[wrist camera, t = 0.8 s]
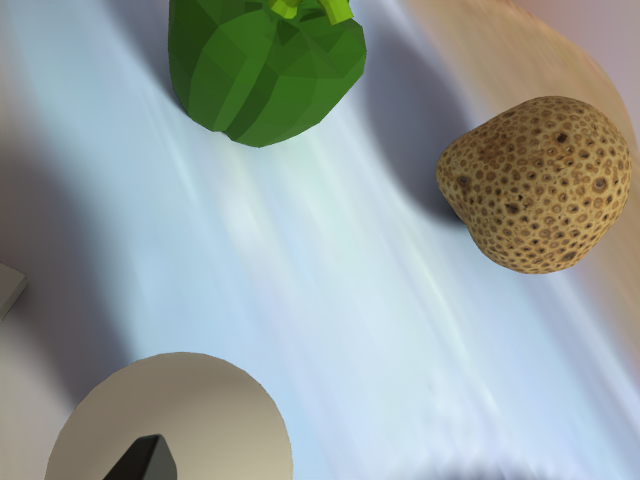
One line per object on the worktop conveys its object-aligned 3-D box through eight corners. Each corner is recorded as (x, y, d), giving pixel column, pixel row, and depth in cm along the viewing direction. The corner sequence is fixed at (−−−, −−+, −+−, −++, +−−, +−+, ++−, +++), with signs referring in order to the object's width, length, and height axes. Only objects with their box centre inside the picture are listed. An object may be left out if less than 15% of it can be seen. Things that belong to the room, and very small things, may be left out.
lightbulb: (18, 438, 18) (-33, 460, 9) (166, 344, 22) (242, 289, 12) (107, 581, 18) (148, 755, 9) (242, 465, 21) (378, 504, 12)
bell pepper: (137, 27, 26) (172, -167, 17) (282, 37, 30) (370, -116, 21) (169, 178, 24) (225, 47, 15) (319, 168, 28) (429, 58, 19)
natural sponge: (538, 282, 33) (704, 235, 24) (432, 300, 28) (588, 250, 20) (498, 155, 35) (638, 70, 26) (394, 154, 31) (520, 53, 22)
